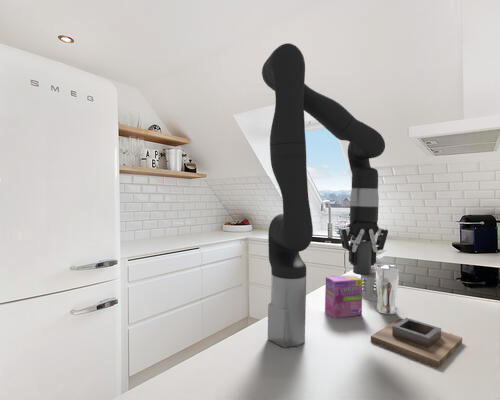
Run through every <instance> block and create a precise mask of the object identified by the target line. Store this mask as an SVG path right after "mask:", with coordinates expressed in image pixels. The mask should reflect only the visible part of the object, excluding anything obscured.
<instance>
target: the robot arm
mask: <svg viewBox="0 0 500 400" xmlns="http://www.w3.org/2000/svg"><path fill="white" fill-rule="evenodd" d="M261 76H262V80H263V81H264V83H265V84H266V86H267V87H269V89H271V90H273V91H274V94H275V105H274V107H275V108H274V113H273V118H272V123H271V126H270V127H271V129H270V134H269V135H270V136H269V155H270V156H269V157H270V165H271V170H272V172H273V175H274V178H275V180H276V181H275V182H277V185H278V189H279V191H280V194H281V198H282V212H283V213H279V214H277V215H275V216H274V217H273V218H272V220H271V221H270V223H269V227H268V235H267V236H268V239H267V242H268V261H269V266H270V267H271V268H270V269H271V278H270V279H271V281H270V282H271V285H270V302H269V303H268V305H267V340H269V341H271V342H273V343H274V344H276V345H278V346H280V347H282V348H284V349H286V348H287V347H289V348H290V347H298V346H300V345H302V344H304V343H305V341H306V307H307V306H306V302H307V266H306V263H305V262H304V261H303V259H302V258H301V255H300V252H303V251H305V250H306V249H308V248H309V246H310V245H311V243H312V239H313V237H314V236H313V235H314V227H313V220H312V213H311V206H310V198H309V188H308V185H309V184H308V183H309V182H308V169H307V167H308V166H307V142H306V128H305V127H306V125H305V121H306V120H305V113H306V114H309V115H310V116H311V117H312V118H314V119H315V120H316V121H317V122H318V123H320V124H321V125H322V126H323V127H324V128H325V129H326V130H328V132H330V134H331V135H332V136H334V137H335V138H336V139H338V140H339V141H346V142H349V143H348V145H347V158H348V163H349V168H350V172H351V191H350V195H349V196H350V197H349V198H350V199H349V200H350V201H349V224H348V227H343V228H342V227H340V228H338V233H339V236H340V242H341V247H342V248H343V249H344V250H347V251H348V262H349V263H350V265H352V266H353V265H356V249H357V247H358V245H359V244H360V241H364V240H366V241H370V242H372V259H371V266H375V264H374V263H376V257H377V253H378V251H383V250H384V248H385V244H386V242H387V237H388V233H389V230H388V229H386V228H380V227H379V226H378V223H379V222H378V221H379V170H377V169H376V168H374V167H371V164H370V163H371V161H370V159H375V158H377V157H380V156H381V155H383V153H384V151H385V149H386V142H385V139H384V137H383V136H382V134H381V133H380V132H379V131H377V130H376V129H375V128H373V127H371V126H370V125H367V124H365V123H364V122H363V121H360V120H358V119H357V118H355V116H353V114H351V112H349V110H347V109H346V108H345V107H344V106H343V105H342V104H340V103H339V102H338V101H336V100H335V99H332V98H331V97H329V96H327V95H324V94H322V93H320V92H318V91H316V90H314V89H313V88H311V87H310V86H309V85H307V84H306V83H305V81H306V80H305V78H306V62H305V58H304V55H303V52H302V51H301V50H300V48H299V47H298V46H296V44H295V45H294V44H293V43H290V42H289V43H287V42H286V43H282V44H281V45H279V46H277V47H276V48H275V49H274V51H272V52H271V54H270V55H269V56H268V58H267V59H266V61H264V64H263V66H262V69H261ZM349 233H350V234H351V237H350V239H349V237H348V236H349ZM375 235H377V238H376V237H375Z"/></svg>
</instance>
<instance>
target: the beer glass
mask: <svg viewBox="0 0 500 400" xmlns="http://www.w3.org/2000/svg"><path fill="white" fill-rule="evenodd" d="M375 270H376V279H375V280H376V282H375V284H376V285H375V287H376V289H377V296H378V301H376V302H377V304H376V308H375V310H376V312H378V313H380V314H383V315H388V316H389V315H390V316H393V315H396V314H397V310H396V296H397V292H398V289H399V280H400V279H399V267H398V266H396V265H391V264H384V263H382V264H376V268H375ZM376 289H375V290H376Z"/></svg>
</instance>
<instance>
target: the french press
mask: <svg viewBox="0 0 500 400" xmlns="http://www.w3.org/2000/svg"><path fill="white" fill-rule="evenodd" d="M380 264H384V260H382V259H381V258H380V257H377V256H376V263H374V265H380ZM360 278H361V279H363V284H362V299H364V300H368V301H376V302H378V296H377V289H376V268H375V267H374V266H372V267H371V275H360Z"/></svg>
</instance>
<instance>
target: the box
mask: <svg viewBox="0 0 500 400" xmlns="http://www.w3.org/2000/svg"><path fill="white" fill-rule="evenodd" d="M363 280H364V279H363V278H362V279H361V277H359V276H357V275H356V274H355V275H354V274H347V275H334V276H333V275H331V276H325V290H324V291H325V292H324V293H325V294H324V295H325V296H324V312H325V313H326V314H327V313H328V316H330V317H331V316H332V318H333V319H337V317H338V318H346V317H353V316H355V317H356V316H362V315H363V313H362V312H363V298H362V290H363V288H362V286H363V285H362V284H363V283H364V282H363Z"/></svg>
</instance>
